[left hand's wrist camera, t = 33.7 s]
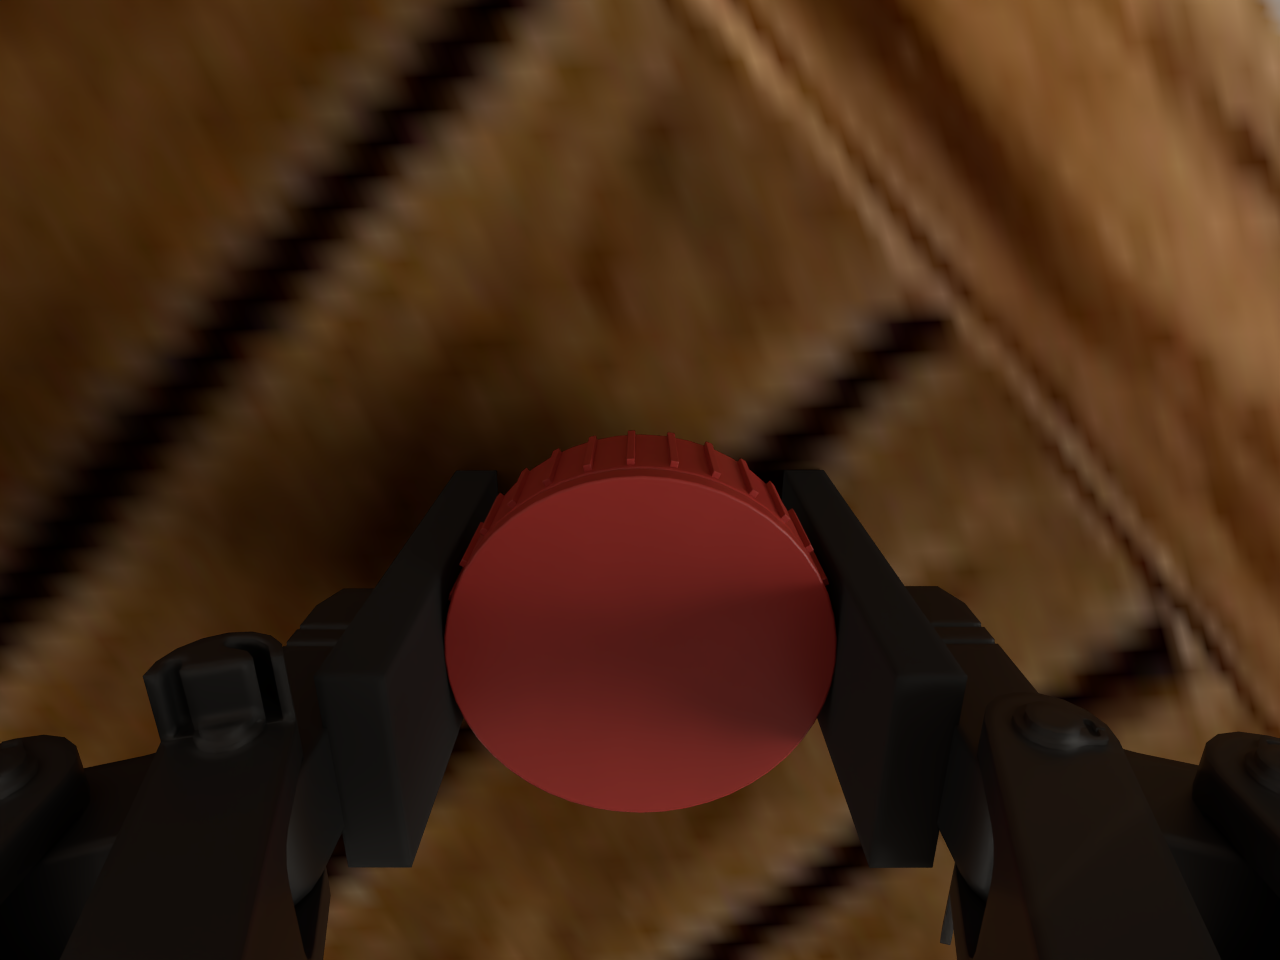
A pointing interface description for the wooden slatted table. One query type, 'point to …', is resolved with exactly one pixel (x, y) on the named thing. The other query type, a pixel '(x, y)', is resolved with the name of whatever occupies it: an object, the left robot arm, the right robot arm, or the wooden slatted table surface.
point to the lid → (640, 626)
